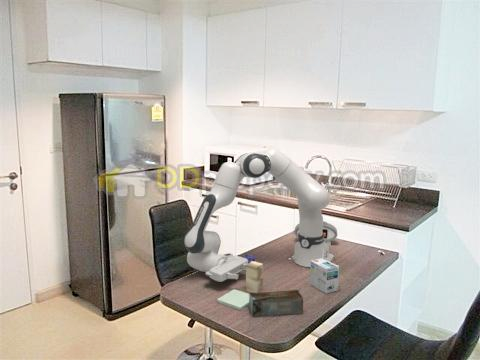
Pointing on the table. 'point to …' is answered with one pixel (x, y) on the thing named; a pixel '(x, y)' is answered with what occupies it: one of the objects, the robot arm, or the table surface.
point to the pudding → (249, 258)
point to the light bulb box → (324, 275)
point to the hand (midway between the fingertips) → (244, 273)
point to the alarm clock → (327, 229)
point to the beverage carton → (275, 303)
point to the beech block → (254, 277)
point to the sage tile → (235, 299)
